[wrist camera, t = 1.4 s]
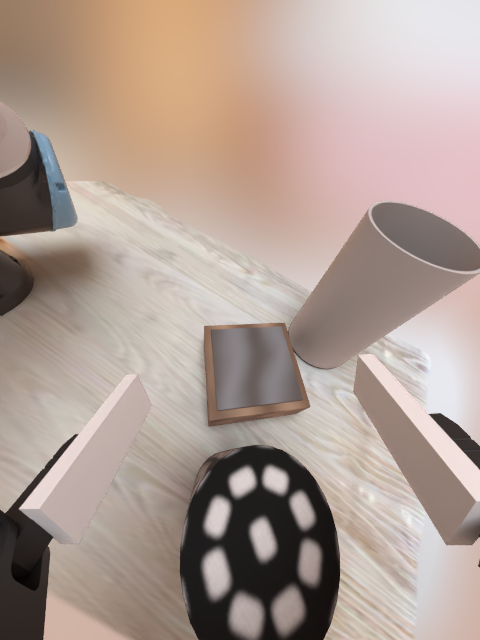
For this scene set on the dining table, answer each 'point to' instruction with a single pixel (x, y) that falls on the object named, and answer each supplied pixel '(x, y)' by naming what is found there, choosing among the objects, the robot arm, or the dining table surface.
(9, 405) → the dining table surface
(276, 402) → the display pedestal
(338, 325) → the cylinder vase
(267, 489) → the spotted tube
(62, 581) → the dining table surface
